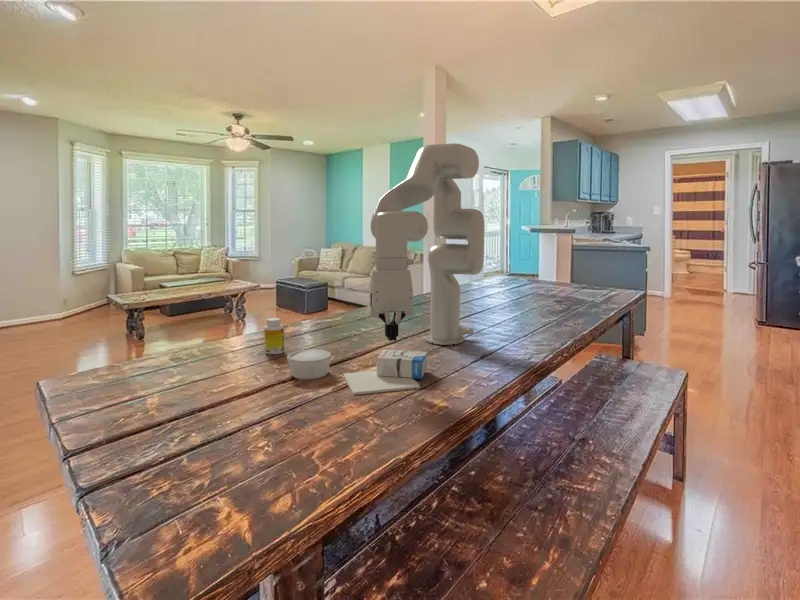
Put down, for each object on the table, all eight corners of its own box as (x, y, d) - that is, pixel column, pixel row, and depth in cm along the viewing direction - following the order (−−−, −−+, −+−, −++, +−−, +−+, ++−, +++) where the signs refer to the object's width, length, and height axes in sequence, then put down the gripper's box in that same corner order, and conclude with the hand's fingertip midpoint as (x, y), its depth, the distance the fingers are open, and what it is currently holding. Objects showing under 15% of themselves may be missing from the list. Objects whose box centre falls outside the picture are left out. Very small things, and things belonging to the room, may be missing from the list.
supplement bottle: (285, 354, 143) (284, 320, 142) (266, 355, 142) (264, 321, 140) (283, 349, 149) (281, 316, 147) (264, 351, 147) (262, 317, 145)
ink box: (422, 360, 119) (376, 357, 121) (422, 379, 119) (375, 376, 122) (427, 351, 127) (383, 348, 129) (427, 369, 128) (383, 365, 130)
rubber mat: (403, 370, 128) (403, 368, 128) (419, 388, 115) (419, 385, 115) (343, 375, 124) (343, 373, 124) (353, 394, 111) (353, 392, 111)
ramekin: (293, 367, 131) (292, 348, 130) (334, 367, 131) (334, 348, 130) (282, 381, 120) (281, 360, 119) (327, 381, 120) (327, 361, 119)
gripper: (416, 262, 121) (415, 333, 124) (357, 263, 117) (358, 337, 120) (426, 265, 114) (425, 340, 117) (364, 267, 110) (365, 345, 113)
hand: (391, 339), depth 119 cm, fingers closed
